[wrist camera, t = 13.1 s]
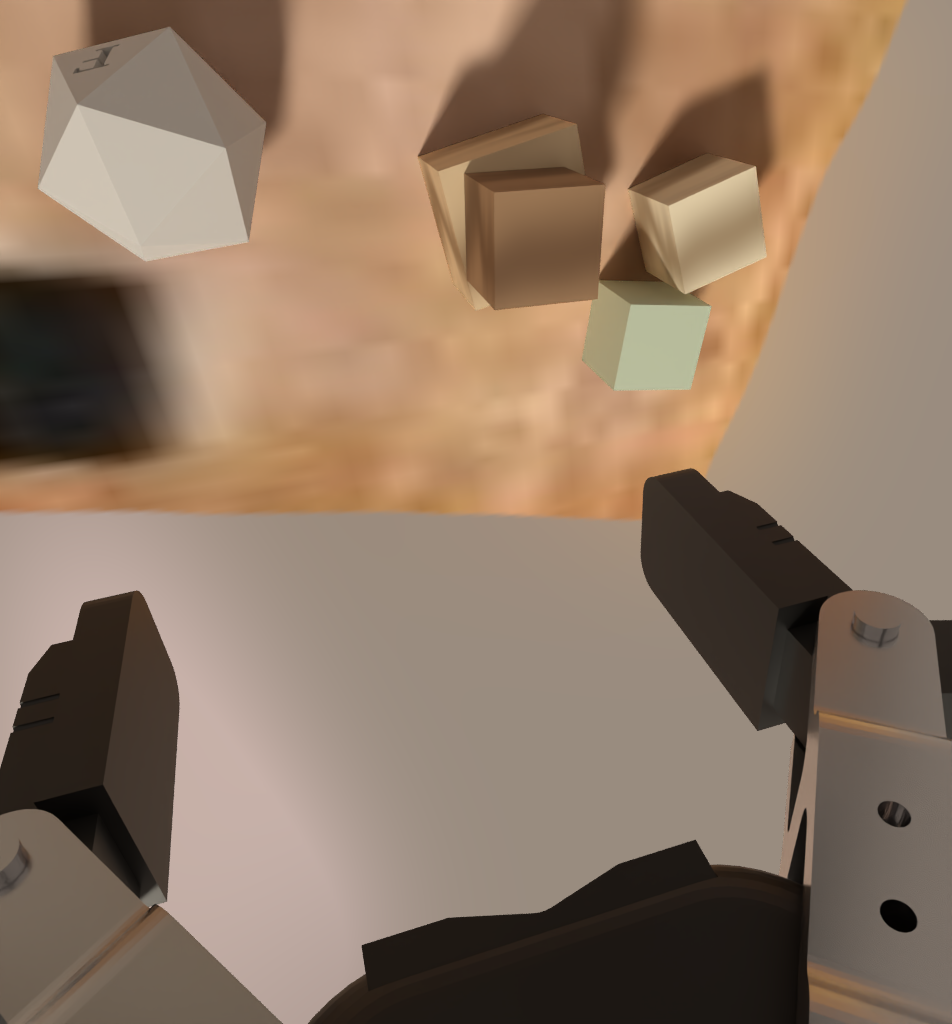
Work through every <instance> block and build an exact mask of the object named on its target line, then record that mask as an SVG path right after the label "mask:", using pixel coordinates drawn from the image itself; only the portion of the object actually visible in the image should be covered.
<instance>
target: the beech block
mask: <svg viewBox="0 0 952 1024" xmlns="http://www.w3.org/2000/svg"><path fill="white" fill-rule="evenodd" d="M628 192H629V196H630V201H631V205H632V210H633V215H634V219H635V224H636V228H637V233H638V237H639V242H640V247H641V251H642V256H643V260H644V265H645V269H646V271H647V272H648V273H650V274H652V275H654V276H655V277H657V278H659V279H660V280H662V281H664V282H665V283H667V284H669V285H670V286H672V287H674V288H675V289H677V290H679V291H681V292H682V293H684V294H687V293H689V292H692V291H694V290H696V289H698V288H700V287H703V286H705V285H707V284H709V283H711V282H713V281H716V280H718V279H720V278H722V277H724V276H726V275H729V274H731V273H733V272H735V271H737V270H739V269H742V268H744V267H746V266H748V265H750V264H753V263H755V262H757V261H759V260H761V259H763V258H766V257H767V255H766V247H765V239H764V230H763V222H762V214H761V205H760V197H759V189H758V180H757V172H756V166H753V165H750V164H746V163H742V162H739V161H735V160H731V159H728V158H724V157H720V156H717V155H713V154H709V153H706V154H704V155H702V156H700V157H697V158H695V159H693V160H691V161H689V162H686V163H684V164H682V165H680V166H678V167H675V168H673V169H671V170H669V171H667V172H664V173H662V174H660V175H658V176H656V177H653V178H651V179H649V180H647V181H645V182H642V183H640V184H638V185H636V186H634V187H631V188H629V189H628Z"/></svg>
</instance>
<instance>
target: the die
mask: <svg viewBox="0 0 952 1024" xmlns="http://www.w3.org/2000/svg"><path fill="white" fill-rule="evenodd" d="M265 129H266V122H265V121H264V120H263V119H262V118H261V117H260V116H259V115H258V114H257V113H256V112H255V111H254V110H253V109H252V108H251V107H250V106H249V105H248V104H247V103H246V102H245V101H244V100H243V99H242V98H241V97H240V96H239V95H238V94H237V93H236V92H235V91H234V90H233V89H232V88H231V87H230V86H229V85H228V84H227V83H226V82H225V81H224V80H223V79H222V78H221V77H220V76H219V75H218V74H217V73H216V72H215V71H214V70H213V69H212V68H211V67H210V66H209V65H208V64H207V63H206V62H205V61H204V60H203V59H202V58H201V57H200V56H199V55H198V54H197V53H196V52H195V51H194V50H193V49H192V48H191V47H190V46H189V45H188V44H187V43H186V42H185V41H184V40H183V39H182V38H181V37H180V36H179V35H178V34H177V33H176V32H175V31H174V30H173V29H172V28H171V27H166V28H162V29H158V30H154V31H150V32H147V33H143V34H139V35H135V36H131V37H127V38H123V39H119V40H115V41H111V42H107V43H103V44H99V45H95V46H91V47H87V48H83V49H79V50H75V51H71V52H67V53H63V54H59V55H55V56H53V62H52V70H51V79H50V88H49V96H48V105H47V113H46V122H45V131H44V139H43V148H42V156H41V165H40V173H39V182H38V189H39V190H41V191H42V192H44V193H45V194H47V195H48V196H49V197H51V198H52V199H54V200H55V201H57V202H58V203H60V204H61V205H63V206H64V207H66V208H67V209H69V210H70V211H72V212H73V213H75V214H76V215H78V216H79V217H81V218H82V219H83V220H85V221H86V222H88V223H89V224H91V225H92V226H94V227H95V228H97V229H98V230H100V231H101V232H103V233H104V234H106V235H107V236H109V237H110V238H112V239H113V240H114V241H116V242H117V243H119V244H120V245H122V246H123V247H125V248H126V249H128V250H129V251H131V252H132V253H134V254H135V255H137V256H138V257H140V258H141V259H143V260H144V261H150V260H156V259H161V258H166V257H172V256H177V255H182V254H187V253H193V252H198V251H203V250H209V249H214V248H219V247H225V246H230V245H235V244H240V243H246V242H249V237H250V230H251V223H252V216H253V210H254V203H255V196H256V189H257V183H258V176H259V169H260V163H261V156H262V149H263V142H264V136H265Z"/></svg>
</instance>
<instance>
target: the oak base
mask: <svg viewBox="0 0 952 1024" xmlns="http://www.w3.org/2000/svg"><path fill="white" fill-rule="evenodd" d="M418 160H419V164H420V167H421V171H422V174H423V178H424V181H425V185H426V188H427V192H428V196H429V199H430V203H431V206H432V210H433V213H434V217H435V221H436V224H437V228H438V231H439V235H440V238H441V242H442V246H443V249H444V253H445V256H446V260H447V263H448V267H449V271H450V274H451V278H452V281H453V285H454V286H455V287H456V289H457V290H458V291H459V292H460V293H461V294H462V296H463V297H464V298H465V299H466V300H467V301H468V303H469V304H470V305H471V306H472V307H473V308H474V310H475V311H477V310H480V309H483V308H486V307H488V306H490V304H489V303H488V302H487V301H486V300H485V299H484V298H483V297H482V296H481V295H480V294H479V293H478V292H477V291H476V290H475V288H474V287H473V286H472V285H471V284H470V283H469V282H468V281H467V276H466V236H465V195H464V173H477V172H491V171H506V170H521V169H536V168H551V167H566V168H568V169H571V170H573V171H575V172H578V173H580V174H582V175H585V170H584V164H583V158H582V152H581V145H580V139H579V133H578V127H577V124H575V123H572V122H568V121H565V120H562V119H558V118H555V117H552V116H548V115H545V114H541V115H538V116H536V117H533V118H530V119H527V120H524V121H521V122H518V123H515V124H512V125H509V126H506V127H503V128H500V129H497V130H494V131H491V132H489V133H486V134H483V135H480V136H477V137H474V138H471V139H468V140H465V141H462V142H459V143H456V144H453V145H450V146H447V147H444V148H442V149H439V150H436V151H433V152H430V153H427V154H424V155H421V156H418Z"/></svg>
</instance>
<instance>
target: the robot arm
mask: <svg viewBox="0 0 952 1024" xmlns="http://www.w3.org/2000/svg"><path fill="white" fill-rule="evenodd" d="M641 562H642V567H643V571H644V575H645V577H646V580H647V582H648V584H649V586H650V588H651V589H652V591H653V592H654V594H655V595H656V596H657V598H658V599H659V600H660V602H661V603H662V604H663V606H664V607H665V608H666V609H667V611H668V612H669V614H670V615H671V616H672V618H673V619H674V620H675V622H676V623H677V624H678V626H679V627H680V628H681V629H682V631H683V632H684V634H685V635H686V636H687V638H688V639H689V640H690V642H691V643H692V644H693V646H694V647H695V648H696V650H697V651H698V652H699V654H700V655H701V656H702V657H703V659H704V660H705V661H706V663H707V664H708V665H709V667H710V668H711V670H712V671H713V672H714V674H715V675H716V676H717V677H718V679H719V680H720V682H721V683H722V684H723V685H724V687H725V688H726V690H727V691H728V692H729V693H730V695H731V696H732V698H733V699H734V700H735V702H736V703H737V704H738V706H739V707H740V708H741V709H742V711H743V712H744V714H745V715H746V716H747V717H748V719H749V720H750V721H751V723H752V724H753V725H754V726H755V728H756V729H757V731H759V730H762V729H766V728H769V727H773V726H776V725H780V724H783V723H786V724H787V725H788V727H789V728H790V729H791V730H792V732H793V733H794V736H793V741H792V746H791V752H790V764H789V776H788V789H787V800H786V812H785V824H784V835H783V847H782V857H781V863H780V870H779V875H775V874H771V873H768V872H765V871H762V870H757V869H752V868H746V867H741V866H731V865H710V864H709V862H708V860H707V859H706V857H705V855H704V854H703V852H702V850H701V849H700V847H699V845H698V843H697V841H696V840H694V841H690V842H687V843H684V844H681V845H678V846H675V847H671V848H668V849H665V850H662V851H658V852H656V853H652V854H649V855H646V856H643V857H639V858H637V859H633V860H630V861H627V862H624V863H621V864H618V865H616V866H615V867H613V868H612V869H610V870H609V871H607V872H606V873H604V874H602V875H601V876H599V877H598V878H596V879H595V880H593V881H592V882H590V883H589V884H587V885H585V886H584V887H582V888H581V889H579V890H578V891H576V892H575V893H573V894H572V895H570V896H569V897H567V898H565V899H564V900H562V901H561V902H559V903H558V904H556V905H555V906H553V907H552V908H550V909H548V910H546V911H543V912H540V913H531V914H512V915H494V916H475V917H456V918H446V919H443V920H440V921H437V922H434V923H431V924H427V925H424V926H421V927H418V928H415V929H412V930H408V931H405V932H402V933H399V934H396V935H393V936H390V937H386V938H383V939H380V940H377V941H374V942H371V943H367V944H364V945H362V952H363V959H364V965H365V972H366V974H365V975H363V976H362V977H360V978H359V979H357V980H356V981H354V982H353V983H351V984H349V985H348V986H347V987H346V988H345V989H343V990H342V991H341V992H340V993H338V994H337V995H336V996H335V997H334V998H332V999H331V1000H330V1001H329V1002H328V1003H327V1004H326V1005H325V1006H324V1007H323V1008H322V1009H321V1010H320V1011H319V1012H318V1013H317V1014H316V1015H315V1016H314V1017H313V1018H312V1019H311V1020H310V1022H309V1023H308V1024H952V620H942V621H939V620H935V621H934V620H932V621H931V620H928V619H927V617H926V616H925V615H924V614H923V613H922V612H921V611H919V610H918V609H917V608H915V607H914V606H913V605H911V604H909V603H907V602H905V601H903V600H901V599H899V598H897V597H894V596H891V595H887V594H885V593H880V592H874V591H866V590H855V591H853V590H852V589H851V588H850V587H849V586H847V585H846V584H845V583H844V582H843V581H842V580H841V579H840V578H839V577H838V576H836V575H835V574H834V573H833V572H832V571H831V570H830V569H829V568H828V567H827V566H825V565H824V564H823V563H822V562H821V561H820V560H819V559H818V558H817V557H816V556H814V555H813V554H812V553H811V552H810V551H809V550H808V549H807V548H806V547H804V546H803V545H802V544H801V543H800V542H799V541H798V540H796V541H794V538H793V536H792V535H791V534H790V533H789V532H788V531H787V530H785V529H784V527H782V526H781V525H780V526H778V524H777V521H776V520H775V519H774V518H773V517H771V516H770V515H769V514H768V513H767V512H766V511H765V510H764V509H762V508H761V507H760V506H759V505H758V504H757V503H755V502H753V501H750V500H748V499H746V498H744V497H742V496H739V495H737V494H735V493H733V492H731V491H724V492H719V491H718V490H717V489H716V488H715V487H714V486H712V485H711V484H710V483H709V482H708V481H707V480H706V479H705V478H704V477H703V476H702V475H701V474H700V473H699V472H698V471H696V470H695V469H691V468H690V469H686V470H681V471H677V472H672V473H668V474H663V475H659V476H654V477H650V478H648V479H647V480H646V482H645V484H644V490H643V510H642V535H641ZM20 705H21V708H19V709H18V711H17V714H16V717H15V721H14V724H13V730H14V732H13V733H11V734H10V737H9V741H8V744H7V747H6V751H5V754H4V757H3V761H2V764H1V768H0V1024H283V1023H282V1022H281V1021H280V1020H278V1019H277V1018H276V1017H275V1016H274V1015H273V1014H272V1013H271V1012H270V1011H269V1010H268V1009H267V1008H266V1007H265V1006H264V1005H263V1004H262V1003H261V1002H260V1001H259V1000H258V999H257V998H256V997H255V996H254V995H252V993H251V992H250V991H249V990H248V989H247V988H245V987H244V986H243V985H242V984H241V983H240V982H239V981H238V980H237V979H236V978H235V977H234V976H233V975H232V974H231V973H230V972H229V971H228V970H227V969H226V968H225V967H224V966H223V965H222V964H221V963H220V962H219V961H218V960H216V958H215V957H213V956H212V955H211V954H210V953H209V952H208V951H207V950H206V949H205V948H204V947H203V946H202V945H201V944H200V943H199V942H198V941H197V940H196V939H195V938H194V937H193V936H192V935H191V934H190V933H189V932H188V931H187V930H186V929H185V928H184V927H183V926H182V925H180V924H179V923H178V922H177V921H176V920H175V919H174V918H173V917H172V916H171V915H170V914H169V913H168V912H167V911H165V910H164V909H163V908H162V907H160V906H158V905H157V904H160V903H164V902H167V893H168V877H169V862H170V845H171V830H172V815H173V799H174V784H175V767H176V752H177V737H178V722H179V692H178V685H177V680H176V676H175V672H174V669H173V666H172V663H171V661H170V658H169V656H168V654H167V651H166V649H165V646H164V644H163V641H162V639H161V637H160V634H159V632H158V629H157V627H156V625H155V622H154V620H153V618H152V615H151V613H150V610H149V608H148V605H147V603H146V601H145V599H144V597H143V595H142V594H141V593H140V592H139V591H133V592H128V593H124V594H119V595H115V596H110V597H106V598H101V599H97V600H93V601H88V602H84V603H83V605H82V607H81V609H80V613H79V618H78V622H77V626H76V630H75V634H74V638H73V640H71V641H67V642H62V643H58V644H54V645H51V646H50V648H49V649H48V650H47V651H46V653H45V654H44V655H43V656H42V657H41V659H40V660H39V661H38V663H37V664H36V665H35V666H34V667H33V669H32V670H31V671H30V672H29V674H28V677H27V681H26V684H25V687H24V690H23V694H22V697H21V700H20ZM150 906H152V907H151V908H149V907H150Z"/></svg>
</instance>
